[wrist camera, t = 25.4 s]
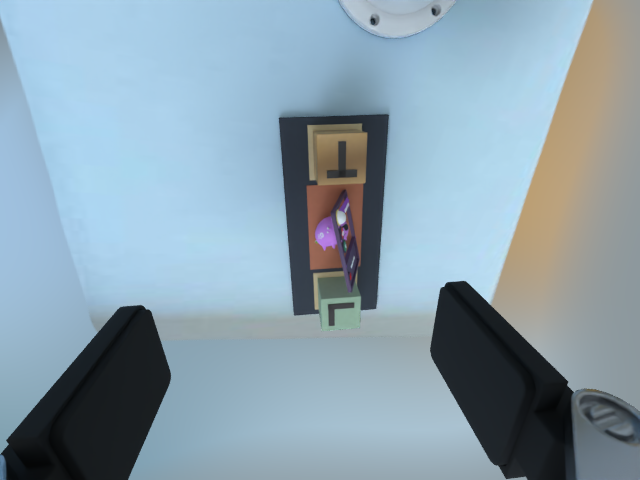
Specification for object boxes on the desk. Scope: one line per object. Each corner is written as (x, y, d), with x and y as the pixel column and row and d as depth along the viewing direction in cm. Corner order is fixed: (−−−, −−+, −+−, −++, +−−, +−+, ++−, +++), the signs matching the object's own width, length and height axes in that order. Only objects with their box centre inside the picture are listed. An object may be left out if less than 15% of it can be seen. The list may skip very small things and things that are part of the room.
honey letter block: (312, 130, 30) (316, 134, 25) (357, 129, 30) (367, 132, 26) (314, 175, 31) (317, 186, 27) (355, 173, 32) (365, 183, 28)
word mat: (279, 117, 29) (279, 118, 29) (387, 114, 30) (389, 114, 30) (294, 313, 39) (294, 316, 39) (375, 306, 40) (376, 309, 39)
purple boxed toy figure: (359, 293, 30) (342, 211, 26) (310, 294, 32) (288, 217, 28) (366, 258, 36) (353, 187, 32) (325, 261, 37) (308, 194, 34)
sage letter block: (317, 277, 37) (321, 299, 32) (353, 275, 37) (361, 296, 33) (318, 307, 38) (321, 332, 34) (352, 304, 39) (360, 328, 35)
